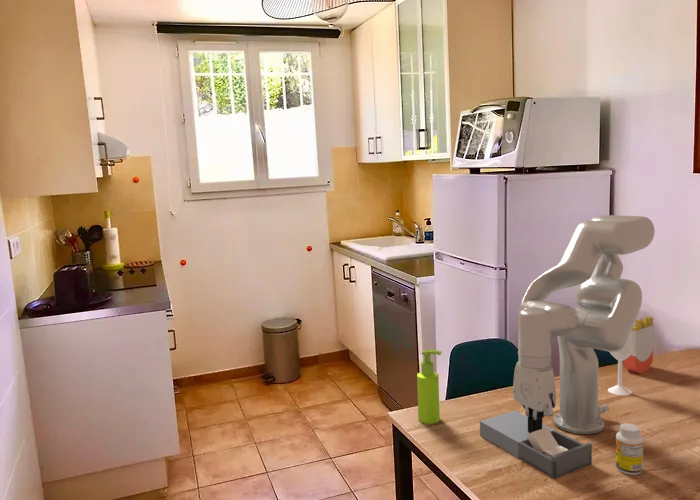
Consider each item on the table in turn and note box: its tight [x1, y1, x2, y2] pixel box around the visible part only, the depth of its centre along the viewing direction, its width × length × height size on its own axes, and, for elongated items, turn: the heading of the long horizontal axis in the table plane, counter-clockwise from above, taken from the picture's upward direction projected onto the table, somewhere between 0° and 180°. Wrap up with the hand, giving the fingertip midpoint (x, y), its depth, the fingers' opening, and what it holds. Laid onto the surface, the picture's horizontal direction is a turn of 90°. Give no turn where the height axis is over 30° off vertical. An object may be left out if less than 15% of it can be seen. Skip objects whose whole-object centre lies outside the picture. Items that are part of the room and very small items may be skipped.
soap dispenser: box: [416, 349, 443, 425], centre depth 159 cm, size 6×7×20 cm
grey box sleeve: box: [479, 410, 555, 459], centre depth 146 cm, size 12×14×4 cm
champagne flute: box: [607, 332, 633, 396], centre depth 172 cm, size 7×7×24 cm
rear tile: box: [527, 427, 559, 454], centre depth 137 cm, size 5×5×2 cm
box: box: [518, 429, 593, 480], centre depth 134 cm, size 12×11×5 cm
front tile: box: [545, 446, 568, 458], centre depth 132 cm, size 5×5×2 cm
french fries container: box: [622, 316, 655, 374], centre depth 189 cm, size 5×11×18 cm, turn 124°
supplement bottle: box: [615, 422, 644, 476], centre depth 129 cm, size 6×6×10 cm
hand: (535, 432), depth 139 cm, fingers closed
